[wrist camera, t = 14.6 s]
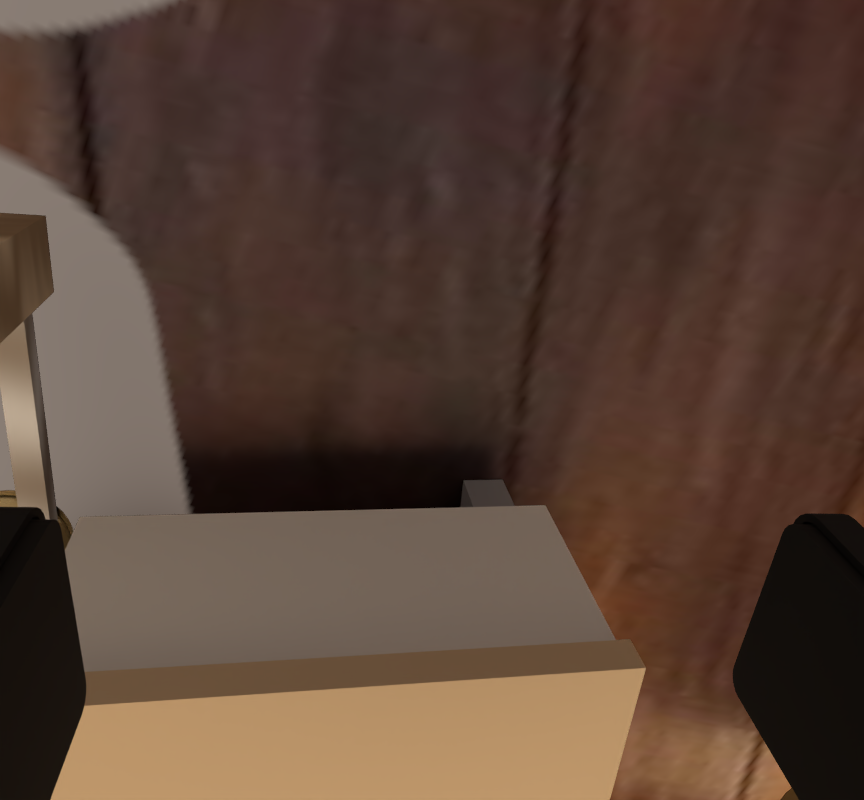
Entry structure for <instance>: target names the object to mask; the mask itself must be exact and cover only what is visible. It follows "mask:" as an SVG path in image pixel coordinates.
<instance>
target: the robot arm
mask: <svg viewBox="0 0 864 800" xmlns="http://www.w3.org/2000/svg"><path fill="white" fill-rule="evenodd" d="M733 683H734V687H735V691H736V693H737V695H738V697H739V699H740V701H741V702H742V704H743V706H744V708H745V709H746V711H747V713H748V714H749V716H750V718H751V719H752V721H753V723H754V724H755V726H756V728H757V730H758V731H759V733H760V735H761V736H762V738H763V740H764V741H765V743H766V745H767V746H768V748H769V750H770V752H771V753H772V755H773V757H774V758H775V760H776V762H777V763H778V765H779V767H780V768H781V770H782V772H783V774H784V775H785V777H786V779H787V780H788V782H789V784H790V785H791V787H792V789H793V790H794V792H795V794H796V796H797V797H798V799H799V800H864V528H863V527H862V526H861V525H860V524H859V523H858V522H857V521H856V520H855V519H853V518H852V517H850V516H849V515H845V514H803V515H800V516H799V517H798V518H797V519H796V520H795V522H794V524H792V525H789V526H788V527H786V528H785V530H784V532H783V534H782V536H781V539H780V542H779V545H778V547H777V550H776V553H775V555H774V558H773V561H772V564H771V566H770V569H769V572H768V575H767V577H766V580H765V583H764V586H763V588H762V591H761V594H760V597H759V599H758V602H757V605H756V607H755V610H754V613H753V616H752V618H751V621H750V624H749V627H748V629H747V632H746V635H745V638H744V640H743V643H742V646H741V649H740V651H739V654H738V657H737V659H736V662H735V665H734V669H733ZM85 699H86V677H85V671H84V665H83V659H82V653H81V647H80V641H79V635H78V629H77V623H76V617H75V610H74V604H73V598H72V592H71V586H70V580H69V574H68V568H67V562H66V556H65V549H64V543H63V537H62V531H61V527H60V524H59V522H58V521H57V520H47V519H45V515H44V513H43V512H42V510H41V509H40V508H38V507H0V800H50V799H51V797H52V794H53V791H54V788H55V786H56V783H57V780H58V778H59V775H60V772H61V770H62V767H63V764H64V762H65V759H66V756H67V754H68V751H69V748H70V745H71V743H72V740H73V737H74V735H75V732H76V729H77V727H78V724H79V721H80V719H81V716H82V713H83V709H84V705H85Z"/></svg>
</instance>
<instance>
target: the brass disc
mask: <svg viewBox="0 0 864 800" xmlns="http://www.w3.org/2000/svg"><path fill="white" fill-rule="evenodd" d="M0 507H18V504H17V497H16V491H15V490H3V491H0ZM56 509H57V517H58V522H59V524H60V527H61V531H62V537H63V543H64V549H66V547H67V544H68V542H69V540H70V538H71V536H72V533H73V527H72V525H71V523H70V521H69V519H68V518H67V516H66V515H65V514H64V512H63V511H62V510H60V509H59V508H58V507H57V506H56Z"/></svg>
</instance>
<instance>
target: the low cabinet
mask: <svg viewBox="0 0 864 800" xmlns="http://www.w3.org/2000/svg"><path fill="white" fill-rule="evenodd" d="M65 556H66V562H67V568H68V574H69V580H70V586H71V592H72V598H73V604H74V610H75V617H76V623H77V629H78V635H79V641H80V647H81V653H82V659H83V665H84V671H85V677H86V699H85V705H84V709H83V713H82V716H81V719H80V721H79V724H78V727H77V729H76V732H75V735H74V737H73V740H72V743H71V745H70V748H69V751H68V754H67V756H66V759H65V762H64V764H63V767H62V770H61V772H60V775H59V778H58V780H57V783H56V786H55V788H54V791H53V794H52V797H51V799H50V800H610V797H611V793H612V790H613V786H614V782H615V779H616V775H617V771H618V768H619V764H620V760H621V757H622V753H623V749H624V746H625V742H626V739H627V735H628V731H629V728H630V724H631V720H632V717H633V713H634V709H635V706H636V702H637V698H638V695H639V691H640V687H641V684H642V680H643V676H644V673H645V669H646V667H645V666H644V664H643V662H642V660H641V658H640V656H639V655H638V653H637V651H636V649H635V647H634V645H633V644H632V642H631V640H630V639H627V640H616V639H615V638H614V636H613V634H612V632H611V630H610V628H609V626H608V624H607V622H606V620H605V618H604V617H603V615H602V613H601V611H600V609H599V607H598V605H597V603H596V601H595V599H594V597H593V596H592V594H591V592H590V590H589V588H588V586H587V584H586V582H585V580H584V578H583V576H582V575H581V573H580V571H579V569H578V567H577V565H576V563H575V561H574V559H573V557H572V555H571V553H570V552H569V550H568V548H567V546H566V544H565V542H564V540H563V538H562V536H561V534H560V532H559V531H558V529H557V527H556V525H555V523H554V521H553V519H552V517H551V515H550V513H549V511H548V510H547V508H546V506H545V505H538V506H514V503H513V501H512V499H511V497H510V495H509V493H508V490H507V488H506V486H505V484H504V482H503V480H463V488H462V497H461V506H460V507H457V508H417V509H376V510H336V511H296V512H256V513H215V514H177V515H176V514H175V515H135V516H95V517H80V518H79V520H78V522H77V524H76V527H75V529H74V531H73V533H72V536H71V538H70V540H69V542H68V544H67V547H66V549H65Z"/></svg>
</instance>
